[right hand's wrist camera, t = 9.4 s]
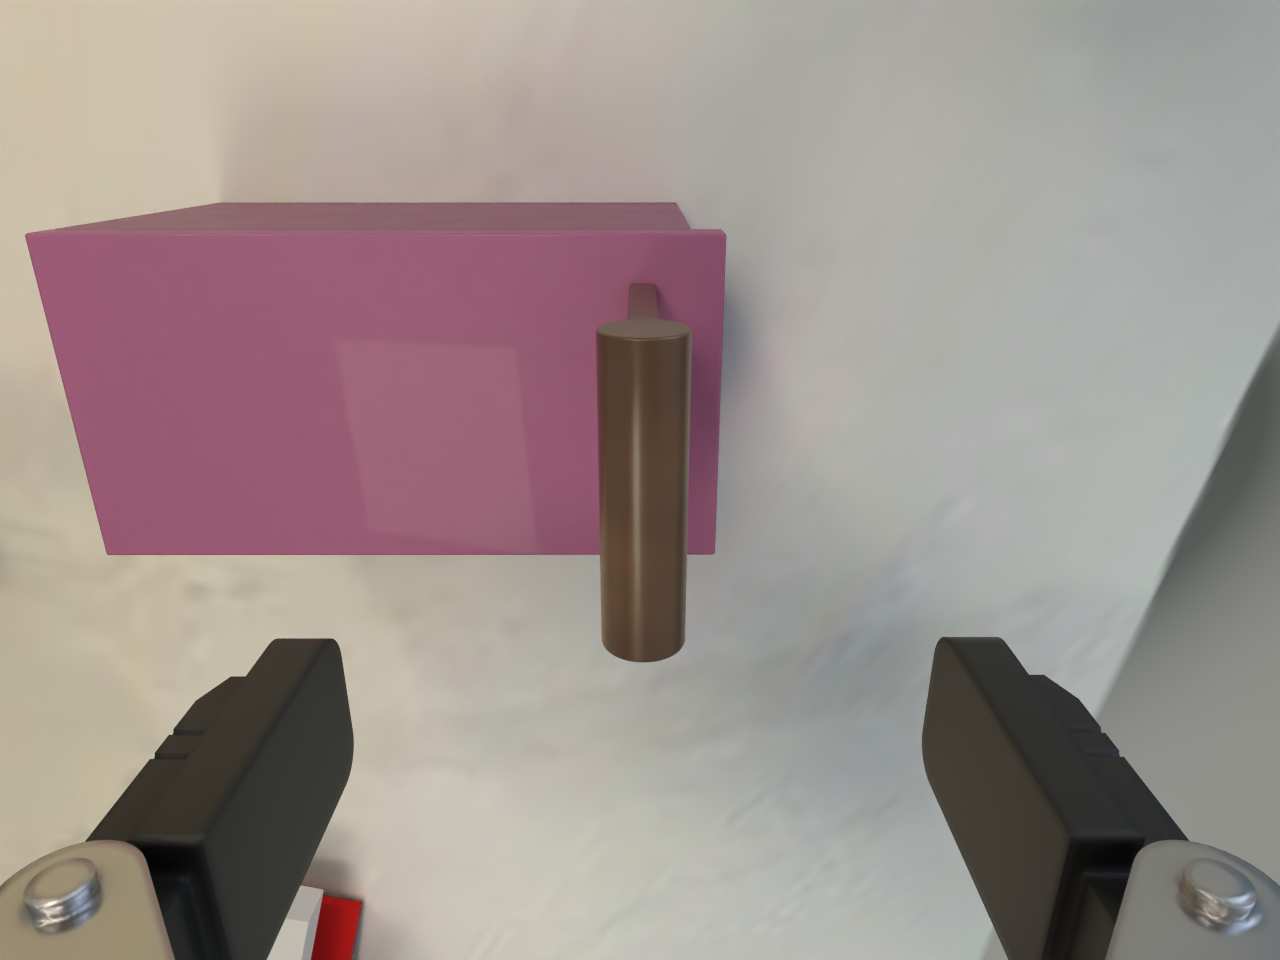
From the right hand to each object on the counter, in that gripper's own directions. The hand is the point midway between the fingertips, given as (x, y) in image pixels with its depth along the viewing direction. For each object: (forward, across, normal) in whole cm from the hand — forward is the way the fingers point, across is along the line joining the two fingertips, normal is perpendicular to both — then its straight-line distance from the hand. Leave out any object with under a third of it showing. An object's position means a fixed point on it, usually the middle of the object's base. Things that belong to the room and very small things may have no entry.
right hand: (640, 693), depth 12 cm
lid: (+15, -7, 0) cm, 16 cm away
